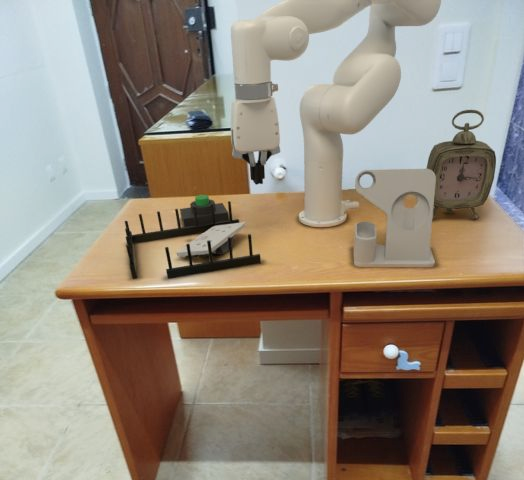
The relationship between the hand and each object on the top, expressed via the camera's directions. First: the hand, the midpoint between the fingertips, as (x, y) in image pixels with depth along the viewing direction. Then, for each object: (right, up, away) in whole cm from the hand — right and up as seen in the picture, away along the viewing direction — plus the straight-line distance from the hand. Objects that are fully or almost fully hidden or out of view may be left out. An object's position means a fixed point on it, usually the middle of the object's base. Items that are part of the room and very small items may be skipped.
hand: (257, 182), depth 110 cm
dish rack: (-16, -15, +6) cm, 23 cm away
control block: (-15, -3, +22) cm, 26 cm away
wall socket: (-11, -14, +7) cm, 19 cm away
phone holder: (+30, -18, -2) cm, 35 cm away
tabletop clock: (+50, -4, +15) cm, 52 cm away
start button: (-15, +1, +19) cm, 24 cm away
